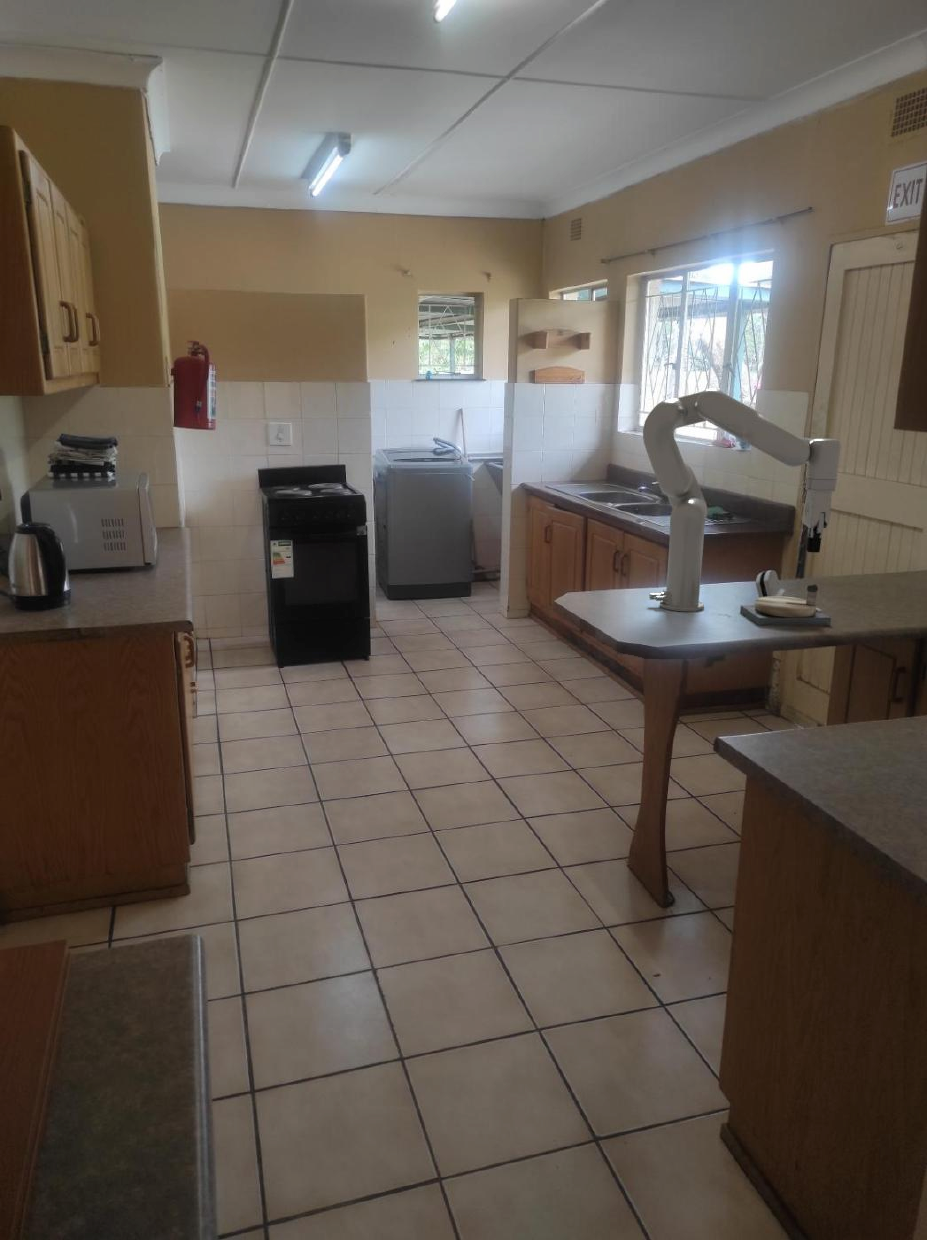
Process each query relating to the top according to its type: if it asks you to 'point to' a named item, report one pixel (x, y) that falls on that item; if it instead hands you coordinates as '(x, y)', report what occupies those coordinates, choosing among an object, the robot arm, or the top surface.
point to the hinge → (769, 584)
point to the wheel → (789, 604)
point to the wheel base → (783, 618)
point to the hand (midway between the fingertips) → (812, 551)
